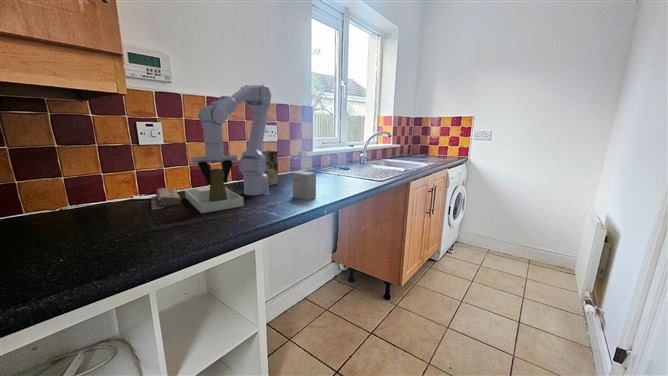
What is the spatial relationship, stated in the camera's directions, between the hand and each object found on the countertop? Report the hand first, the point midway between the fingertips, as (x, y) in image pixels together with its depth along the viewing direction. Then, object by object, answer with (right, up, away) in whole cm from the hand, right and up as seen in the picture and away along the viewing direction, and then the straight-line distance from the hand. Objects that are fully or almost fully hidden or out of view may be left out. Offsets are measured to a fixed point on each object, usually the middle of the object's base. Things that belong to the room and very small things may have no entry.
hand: (216, 183), depth 96 cm
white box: (-7, -6, +10) cm, 13 cm away
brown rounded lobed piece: (0, -6, +1) cm, 6 cm away
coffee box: (+8, 0, +41) cm, 41 cm away
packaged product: (-20, -8, +6) cm, 22 cm away
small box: (+28, -6, +19) cm, 35 cm away
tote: (-4, -8, +6) cm, 11 cm away
